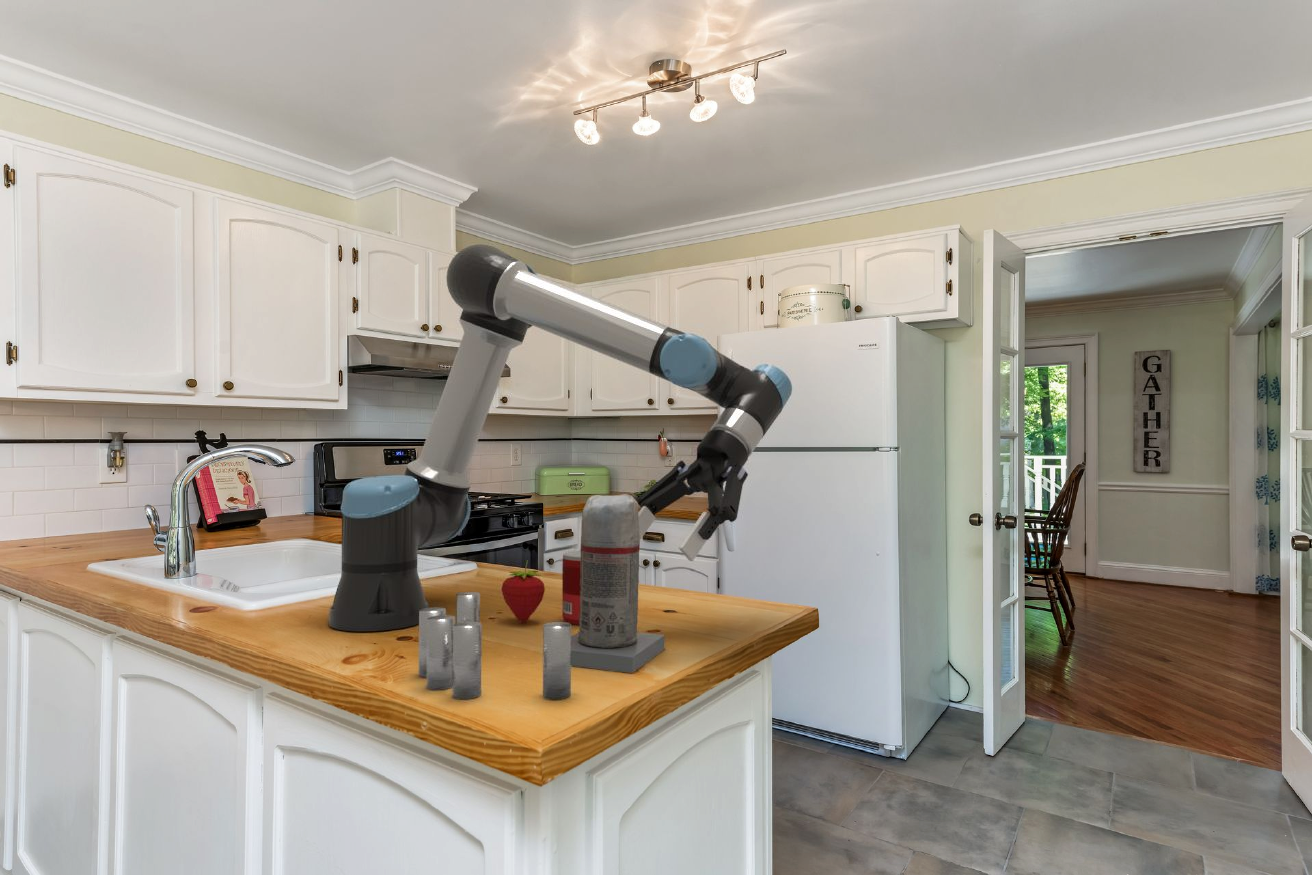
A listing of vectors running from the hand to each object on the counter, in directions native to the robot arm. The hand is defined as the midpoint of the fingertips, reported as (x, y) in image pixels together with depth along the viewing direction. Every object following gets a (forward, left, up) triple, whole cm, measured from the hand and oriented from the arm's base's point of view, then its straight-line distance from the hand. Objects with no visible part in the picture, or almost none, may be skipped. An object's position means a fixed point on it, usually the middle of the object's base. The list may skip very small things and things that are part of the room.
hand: (653, 549), depth 106 cm
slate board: (-4, -6, -14) cm, 16 cm away
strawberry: (-25, +7, -14) cm, 30 cm away
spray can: (-4, -6, -12) cm, 14 cm away
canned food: (-16, +12, -14) cm, 24 cm away
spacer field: (-13, -19, -14) cm, 27 cm away
